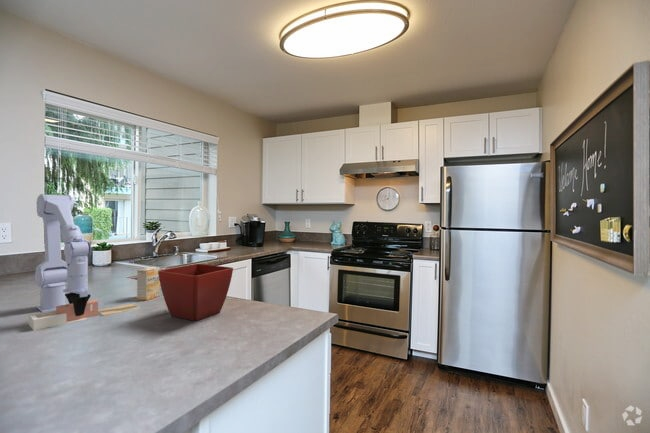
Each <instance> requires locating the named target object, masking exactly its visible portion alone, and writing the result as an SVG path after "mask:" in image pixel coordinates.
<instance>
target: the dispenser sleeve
mask: <svg viewBox="0 0 650 433" xmlns="http://www.w3.org/2000/svg"><path fill="white" fill-rule="evenodd" d="M98 315H99V316H100V317H104V315H103V314H101V313H99V312H98ZM85 320H88V317H87V318H83V319H78V320H73V321H68V322H66V313H62V314H57V315H56V310H53V311H47V312H37V313H32V314H28V326H29V327H30V328H31V329H32V331H39V330H43V329H48V328H53V327H57V326H61V325H65V324H70V323H77V322H80V321H85Z"/></svg>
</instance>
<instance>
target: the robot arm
mask: <svg viewBox="0 0 650 433" xmlns="http://www.w3.org/2000/svg"><path fill="white" fill-rule="evenodd" d="M74 205H75V202H74V198H73V197H72V195H70V194H68V195H64V194H62V195H60V194H43V193H40V194H39V195H38V196H37V199H36V215H37V216H38V217H39V218H42V223H43V236H44V237H43V238H44V240H43V241H44V261H43V262H41V263H40V264H38V265H37V266H36V267H35V273H34V281H35V285H36V286H38V287H40V292H39V294H40V296H39V297H40V298H39V299H40V300H39V301H40V302H39V304H40V305H39V306H38V305H37V306H36V309H38V310H39V311H40V313H42V312H47V311H53V310H56V306H60V305H66V299H67V301H68V304H72V303H73V306H74V311H75V315H76V316H80V315H83V314H84V311H85V307H86V304H87V302H88V301H89V300H90V298H91V296H92V295H91V293H90V294H88V293H89V292H88V290H89V284H88V283H89V281H88V279H89V275H88V274H89V270H88V268H89V260H88V259H89V257H90V256H91V254H92V245H91V242H90V241H89V240H87V238H84V235H83V232H82V230H81V229H80V226H78V225H77V224H75V222H74V219H73V215H72V211H73V209H74ZM61 239H62V242H63V244H64V247H63V254H64V258H65V260H63V259H62V245H61V244H62V242H61Z"/></svg>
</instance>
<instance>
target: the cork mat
mask: <svg viewBox="0 0 650 433" xmlns="http://www.w3.org/2000/svg"><path fill="white" fill-rule="evenodd" d="M137 309H141V307H140V306H137V305H136V304H133V303H127V304H123V305H117V306H113V307H112V306H111V307H106V308H102V309H98V312H99V313H101V314H103V315H104V316H109V315H113V314H119V313H123V312H128V311H134V310H137ZM104 316H103V317H104Z"/></svg>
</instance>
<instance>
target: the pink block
mask: <svg viewBox="0 0 650 433" xmlns="http://www.w3.org/2000/svg"><path fill="white" fill-rule="evenodd" d="M65 304H66V303H65ZM98 310H99V301H98V300H96V299H89V300H88V302H87V304H86V307H85V311H84V314H83V315H80V316H76V315H75V311H74V306H73V303H72V304H69V303H67V304H66V305H60V306H56V315H57V314H62V313H66V322H68V321H73V320H78V319H83V318H87V319H88V318H91V317H96V316H98V315H99V314H98Z"/></svg>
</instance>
